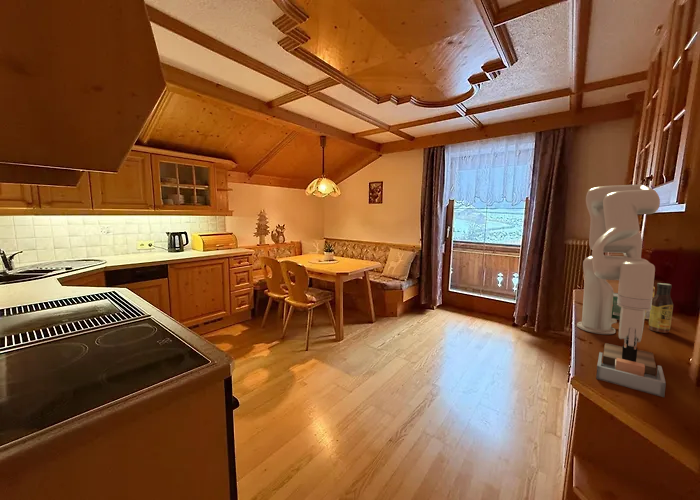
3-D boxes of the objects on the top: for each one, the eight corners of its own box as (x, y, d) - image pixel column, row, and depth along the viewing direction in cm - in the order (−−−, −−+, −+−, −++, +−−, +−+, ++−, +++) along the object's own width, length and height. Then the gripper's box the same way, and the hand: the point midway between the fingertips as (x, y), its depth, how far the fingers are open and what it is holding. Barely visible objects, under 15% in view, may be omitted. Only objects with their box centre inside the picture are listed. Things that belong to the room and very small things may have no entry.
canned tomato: (599, 314, 144) (601, 292, 142) (616, 314, 143) (618, 292, 142) (613, 320, 136) (615, 296, 134) (631, 320, 135) (633, 296, 134)
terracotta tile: (616, 357, 90) (616, 360, 88) (644, 363, 86) (644, 367, 84) (615, 373, 90) (615, 376, 88) (642, 380, 86) (643, 383, 84)
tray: (598, 363, 97) (599, 352, 97) (660, 378, 88) (661, 366, 87) (596, 378, 88) (597, 366, 88) (664, 397, 79) (665, 383, 78)
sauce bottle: (662, 334, 119) (667, 286, 117) (644, 328, 125) (648, 282, 123) (674, 332, 120) (679, 285, 118) (656, 327, 126) (660, 281, 124)
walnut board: (604, 350, 106) (604, 342, 105) (652, 361, 98) (652, 352, 97) (602, 364, 96) (603, 355, 96) (655, 377, 88) (656, 368, 88)
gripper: (617, 294, 97) (613, 348, 99) (617, 305, 86) (612, 364, 89) (649, 298, 92) (644, 354, 94) (653, 310, 81) (647, 373, 83)
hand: (628, 359), depth 91 cm, fingers closed
